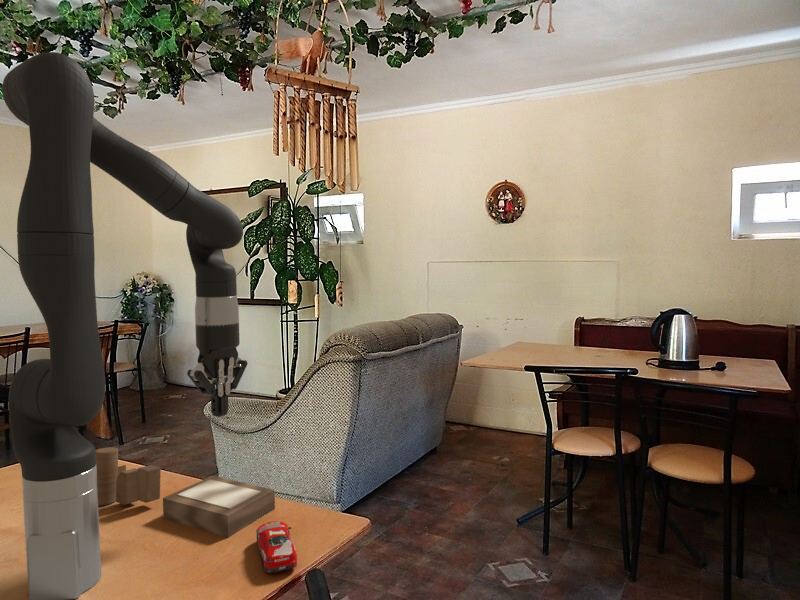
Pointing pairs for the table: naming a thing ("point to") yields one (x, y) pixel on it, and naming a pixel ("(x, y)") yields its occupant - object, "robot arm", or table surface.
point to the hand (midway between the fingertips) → (220, 415)
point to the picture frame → (219, 505)
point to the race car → (276, 547)
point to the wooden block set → (124, 480)
